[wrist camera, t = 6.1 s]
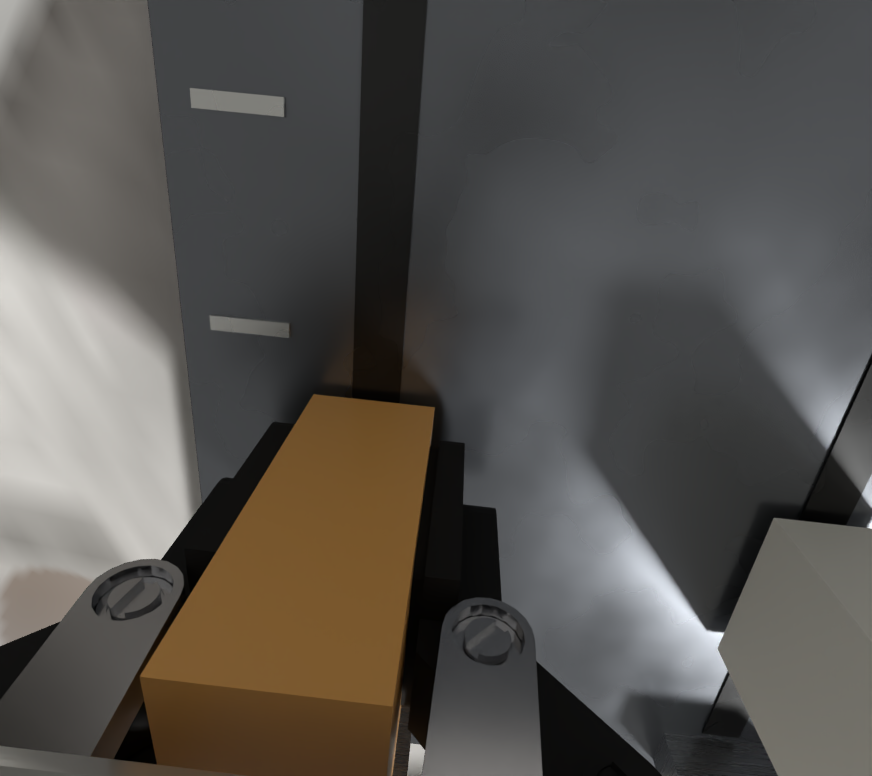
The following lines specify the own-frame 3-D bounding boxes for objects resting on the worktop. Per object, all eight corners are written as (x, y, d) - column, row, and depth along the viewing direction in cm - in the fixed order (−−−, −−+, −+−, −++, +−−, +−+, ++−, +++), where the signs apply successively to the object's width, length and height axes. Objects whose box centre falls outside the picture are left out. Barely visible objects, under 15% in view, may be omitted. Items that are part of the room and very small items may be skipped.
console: (175, -210, 9) (4, -407, 6) (1302, -109, 9) (1805, -258, 5) (246, 673, 18) (195, 794, 15) (806, 739, 17) (883, 877, 14)
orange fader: (313, 394, 11) (134, 685, 5) (435, 407, 11) (391, 716, 5) (314, 546, 13) (178, 898, 7) (419, 558, 13) (374, 923, 7)
